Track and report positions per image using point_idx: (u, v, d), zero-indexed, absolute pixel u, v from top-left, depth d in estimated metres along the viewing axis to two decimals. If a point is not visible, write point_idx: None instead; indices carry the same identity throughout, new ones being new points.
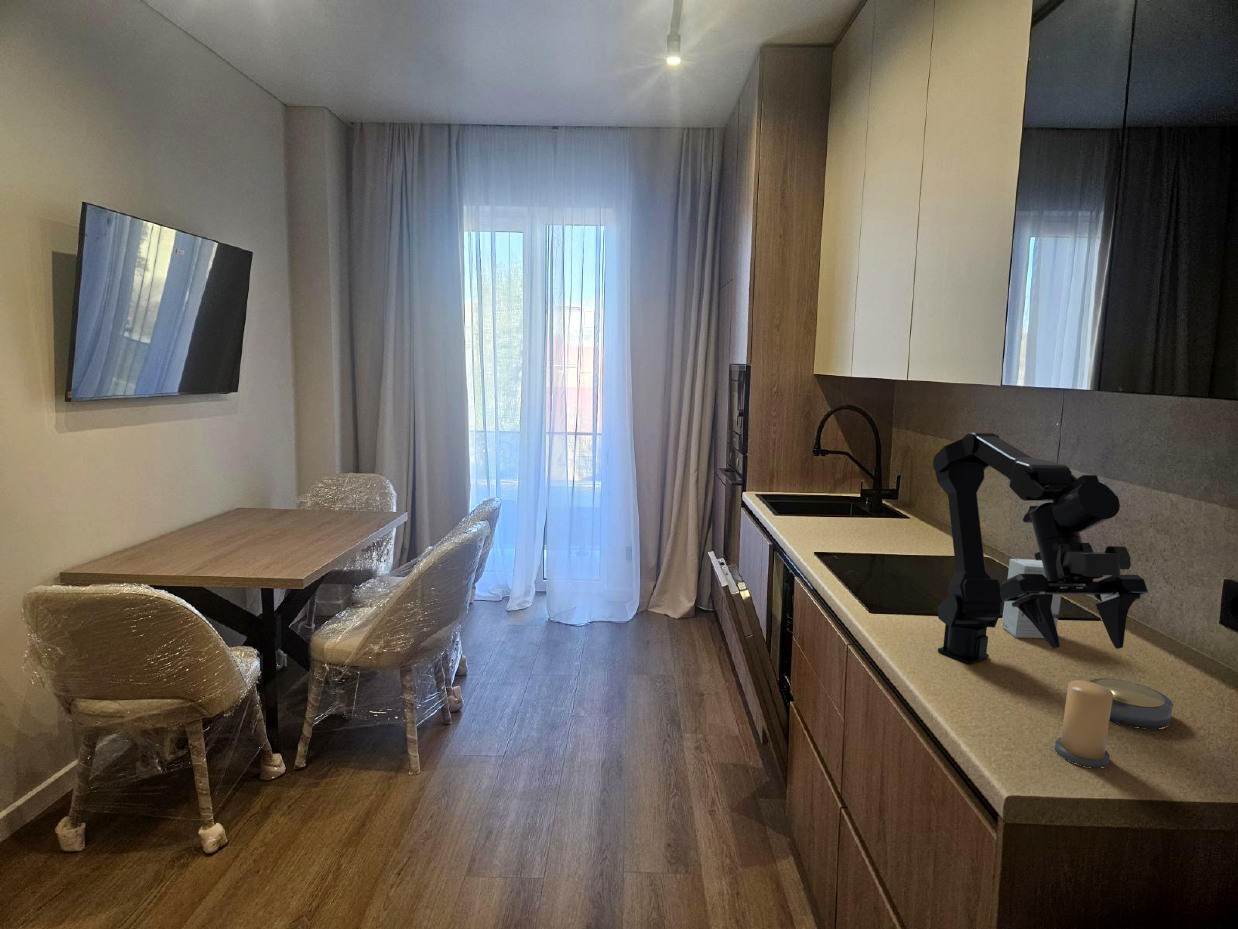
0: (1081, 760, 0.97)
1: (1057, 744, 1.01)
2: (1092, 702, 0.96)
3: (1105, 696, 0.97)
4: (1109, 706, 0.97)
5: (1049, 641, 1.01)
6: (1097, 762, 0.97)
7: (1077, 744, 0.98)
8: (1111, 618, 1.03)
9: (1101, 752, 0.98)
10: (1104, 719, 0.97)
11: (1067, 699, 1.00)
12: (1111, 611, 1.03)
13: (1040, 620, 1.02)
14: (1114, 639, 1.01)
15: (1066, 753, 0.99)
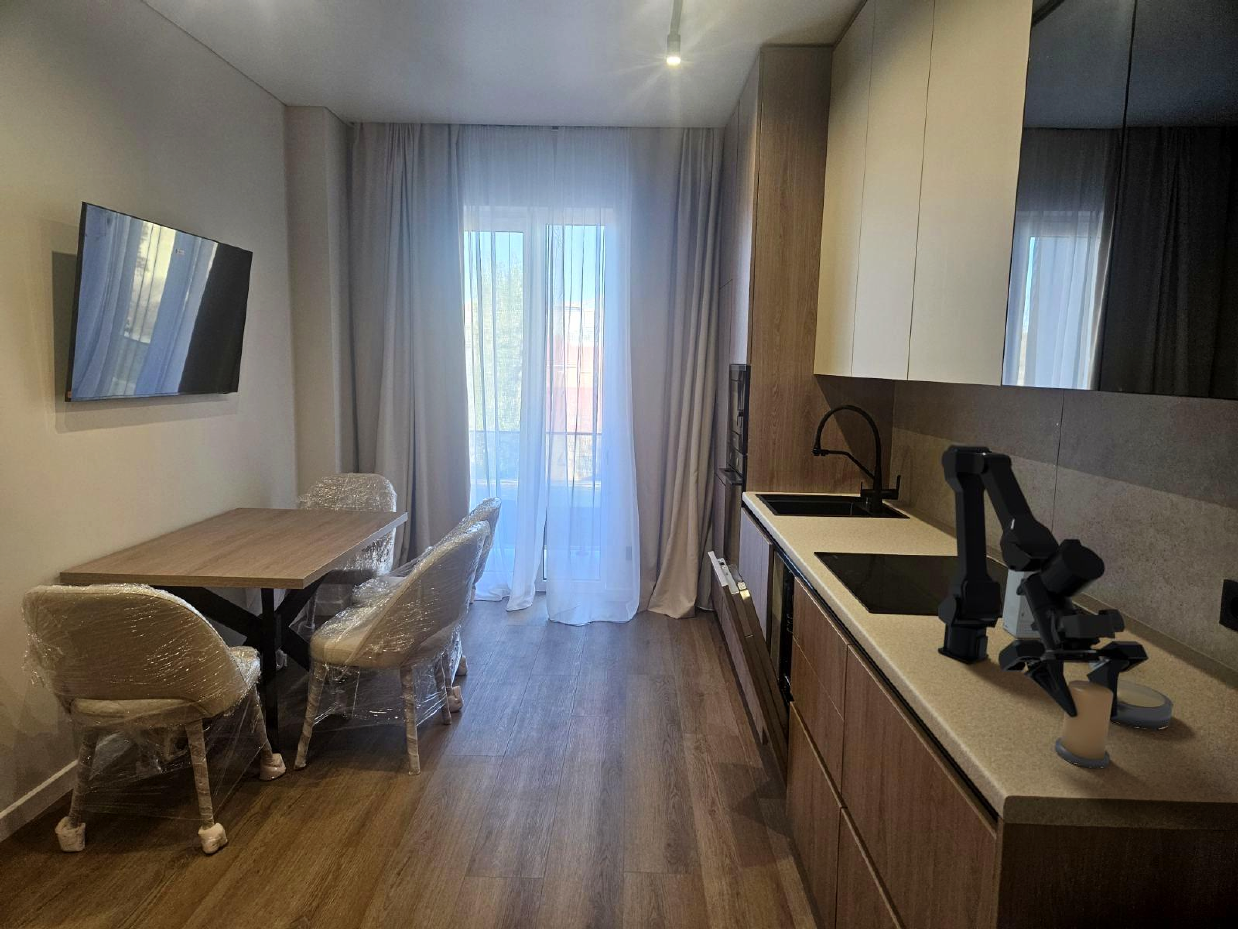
0: (1081, 760, 0.97)
1: (1057, 744, 1.01)
2: (1092, 702, 0.96)
3: (1106, 696, 0.97)
4: (1109, 706, 0.97)
5: (1066, 710, 0.99)
6: (1097, 762, 0.97)
7: (1077, 744, 0.98)
8: None
9: (1101, 752, 0.98)
10: (1104, 719, 0.97)
11: None
12: (1101, 679, 1.01)
13: (1054, 688, 1.00)
14: None
15: (1066, 753, 0.99)
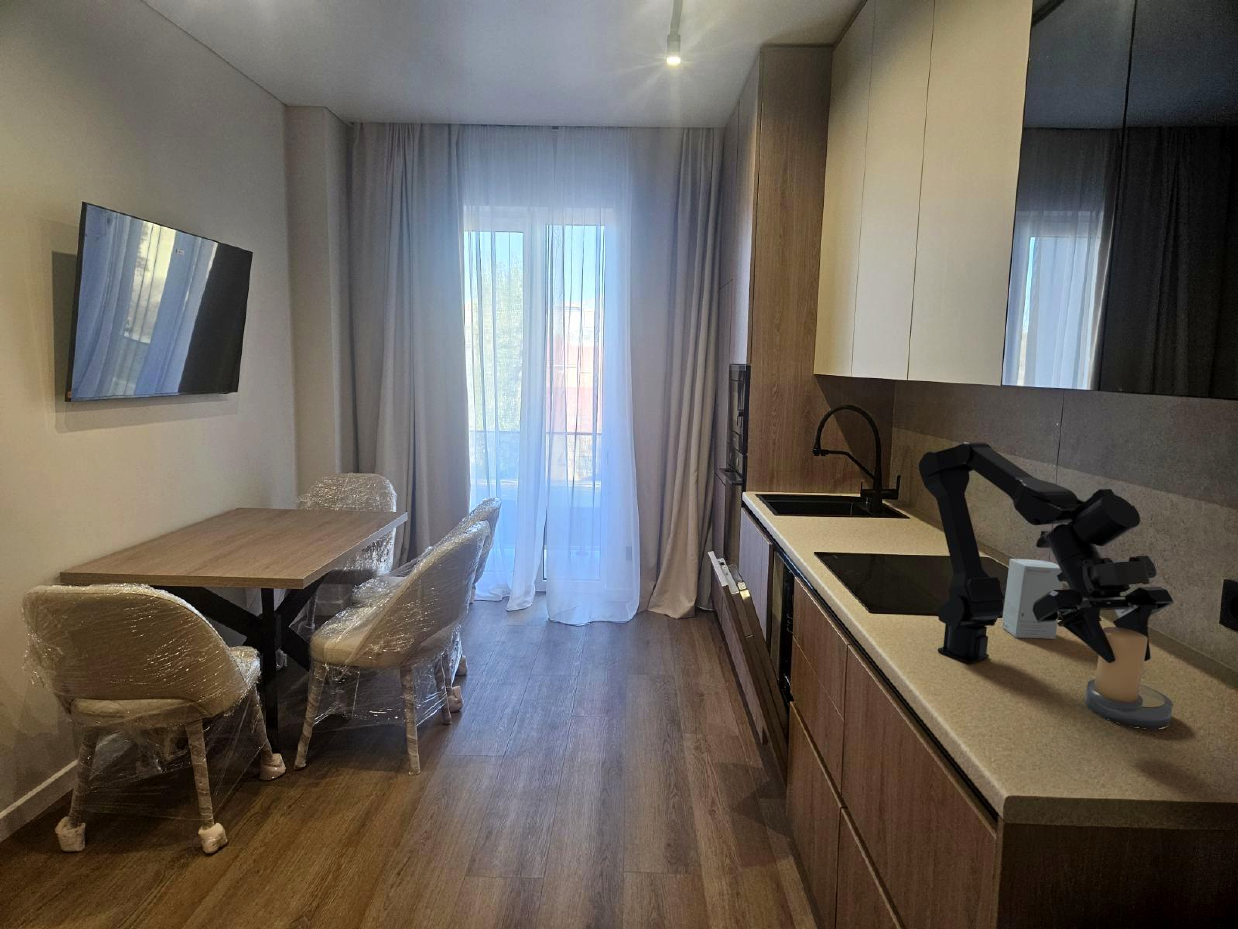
0: (1118, 704, 0.99)
1: (1091, 690, 1.03)
2: (1130, 647, 0.98)
3: (1142, 640, 0.99)
4: (1145, 650, 0.99)
5: (1103, 656, 1.00)
6: (1134, 705, 0.99)
7: (1114, 688, 1.00)
8: None
9: (1136, 695, 1.00)
10: (1141, 662, 0.99)
11: None
12: (1131, 624, 1.03)
13: (1090, 635, 1.02)
14: None
15: (1103, 698, 1.01)
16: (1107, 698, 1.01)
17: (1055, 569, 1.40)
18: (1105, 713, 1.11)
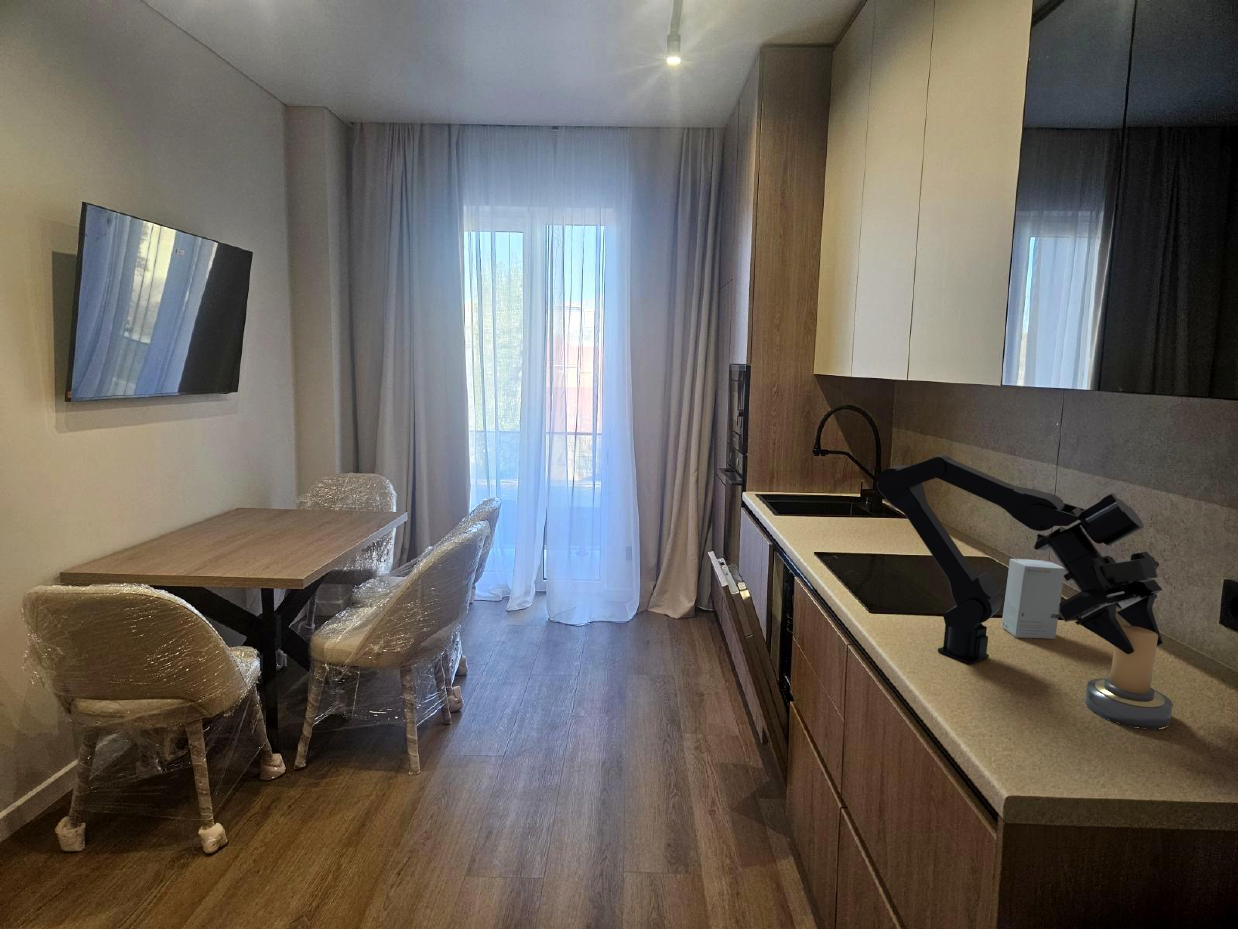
0: (1140, 696, 1.09)
1: (1111, 686, 1.12)
2: (1148, 643, 1.09)
3: (1154, 636, 1.10)
4: (1156, 644, 1.10)
5: (1122, 648, 1.09)
6: (1151, 695, 1.10)
7: (1135, 682, 1.10)
8: (1141, 620, 1.14)
9: (1150, 685, 1.11)
10: (1154, 656, 1.10)
11: None
12: (1139, 614, 1.15)
13: (1108, 631, 1.10)
14: None
15: (1125, 692, 1.10)
16: (1129, 692, 1.10)
17: (1055, 569, 1.40)
18: (1105, 713, 1.11)
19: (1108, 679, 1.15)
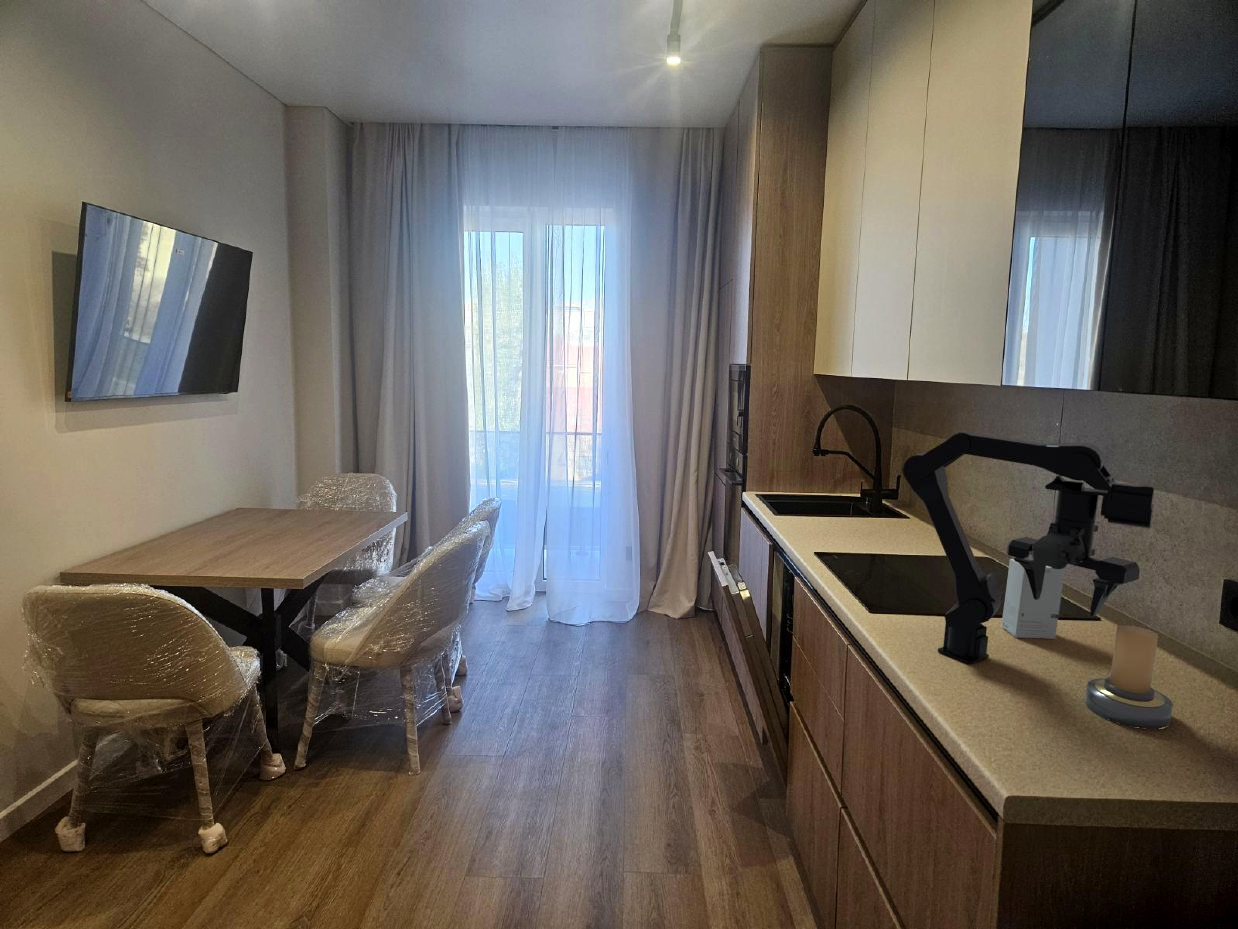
0: (1140, 696, 1.09)
1: (1111, 686, 1.12)
2: (1148, 643, 1.09)
3: (1154, 636, 1.10)
4: (1156, 644, 1.10)
5: None
6: (1151, 695, 1.10)
7: (1135, 682, 1.10)
8: None
9: (1150, 685, 1.11)
10: (1154, 656, 1.10)
11: (1121, 644, 1.11)
12: None
13: None
14: None
15: (1125, 692, 1.10)
16: (1129, 692, 1.10)
17: (1055, 569, 1.40)
18: (1105, 713, 1.11)
19: (1108, 679, 1.15)
